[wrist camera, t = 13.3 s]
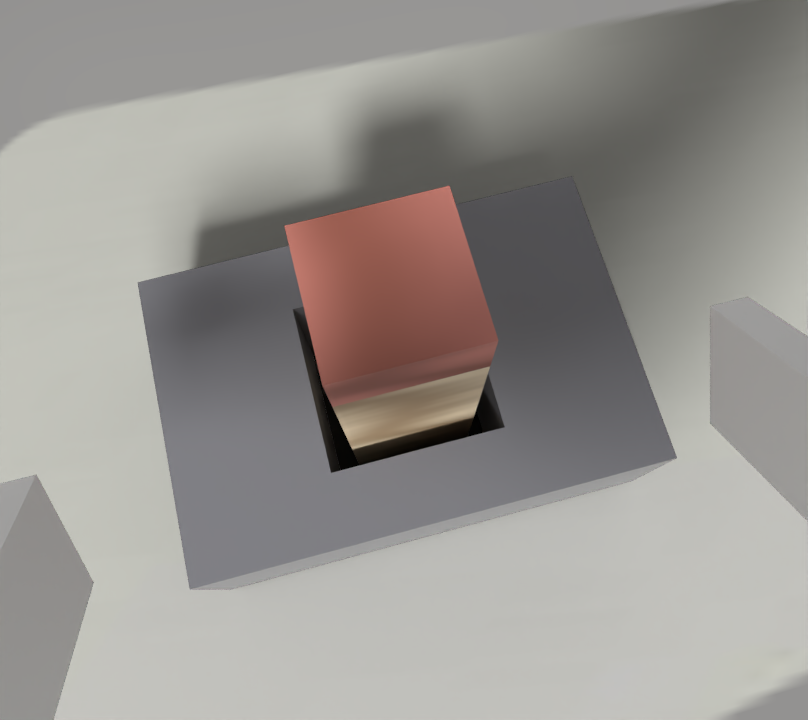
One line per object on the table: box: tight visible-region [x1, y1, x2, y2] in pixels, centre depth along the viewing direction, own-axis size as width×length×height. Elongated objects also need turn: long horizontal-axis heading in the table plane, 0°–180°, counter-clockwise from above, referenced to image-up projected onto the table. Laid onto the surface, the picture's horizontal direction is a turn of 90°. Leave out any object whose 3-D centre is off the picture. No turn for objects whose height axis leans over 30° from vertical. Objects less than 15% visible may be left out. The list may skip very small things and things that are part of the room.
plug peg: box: [284, 186, 498, 465], centre depth 23 cm, size 4×4×12 cm
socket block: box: [138, 176, 677, 590], centre depth 26 cm, size 15×10×5 cm, turn 105°
